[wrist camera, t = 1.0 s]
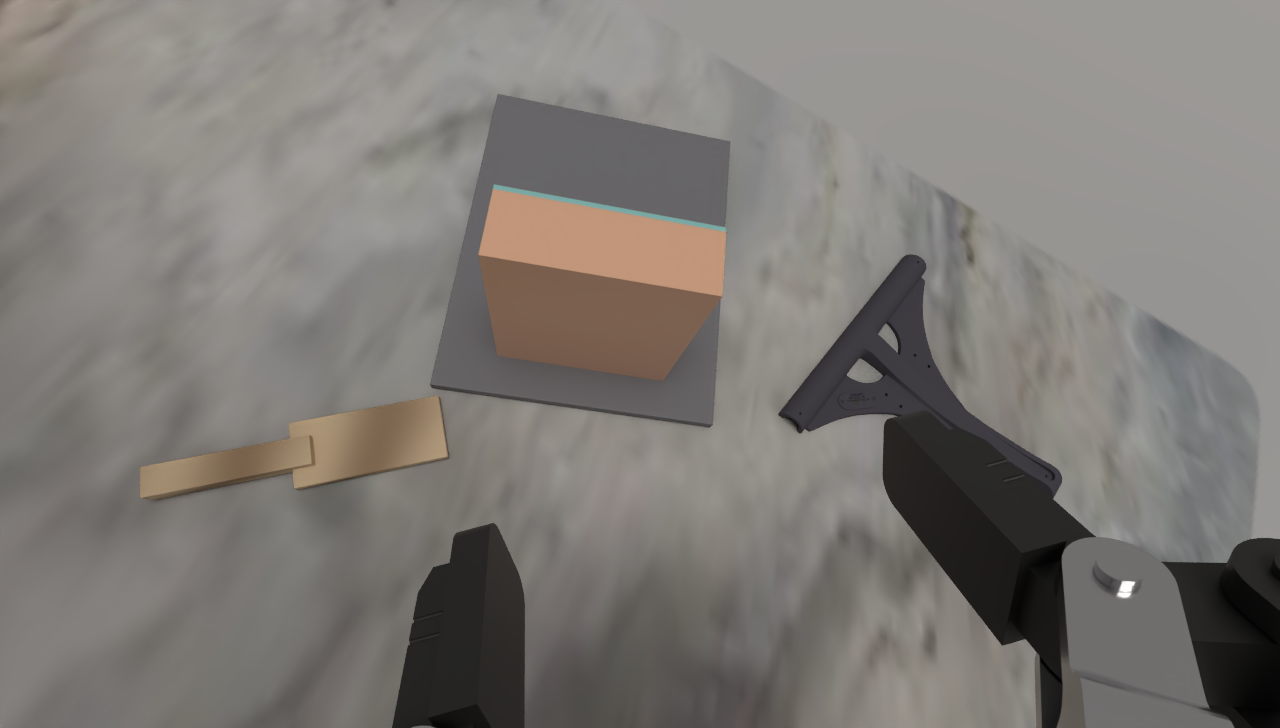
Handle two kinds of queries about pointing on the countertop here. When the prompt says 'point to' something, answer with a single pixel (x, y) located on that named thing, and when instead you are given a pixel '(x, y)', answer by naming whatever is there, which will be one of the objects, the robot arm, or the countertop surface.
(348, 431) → the turner
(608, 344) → the tile
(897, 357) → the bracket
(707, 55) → the countertop surface
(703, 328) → the mat
